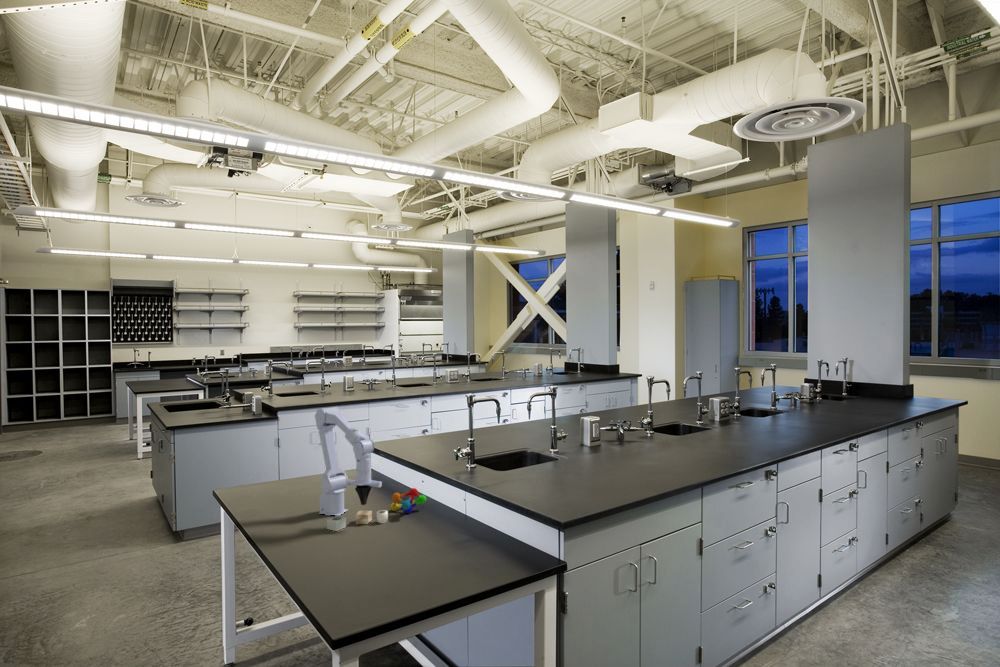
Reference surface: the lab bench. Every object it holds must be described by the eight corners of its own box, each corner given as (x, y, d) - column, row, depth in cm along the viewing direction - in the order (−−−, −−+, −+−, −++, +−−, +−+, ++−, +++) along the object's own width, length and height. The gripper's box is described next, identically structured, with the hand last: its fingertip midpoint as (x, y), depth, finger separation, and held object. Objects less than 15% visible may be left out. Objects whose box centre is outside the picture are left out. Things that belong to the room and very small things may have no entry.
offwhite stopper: (374, 523, 219) (374, 512, 219) (379, 519, 223) (379, 509, 223) (385, 524, 218) (385, 513, 218) (389, 520, 222) (389, 510, 222)
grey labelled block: (326, 530, 212) (326, 519, 212) (336, 526, 216) (336, 515, 216) (336, 532, 209) (336, 521, 209) (345, 528, 214) (345, 517, 214)
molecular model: (386, 522, 230) (407, 512, 221) (379, 499, 233) (400, 489, 224) (413, 513, 242) (434, 503, 233) (407, 491, 244) (428, 481, 236)
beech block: (355, 524, 217) (355, 514, 217) (359, 520, 222) (359, 510, 222) (368, 524, 217) (368, 514, 217) (371, 520, 222) (371, 510, 222)
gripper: (342, 471, 218) (342, 506, 218) (376, 473, 214) (376, 508, 214) (350, 467, 224) (350, 500, 224) (383, 469, 221) (383, 503, 221)
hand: (363, 504), depth 220 cm, fingers closed
